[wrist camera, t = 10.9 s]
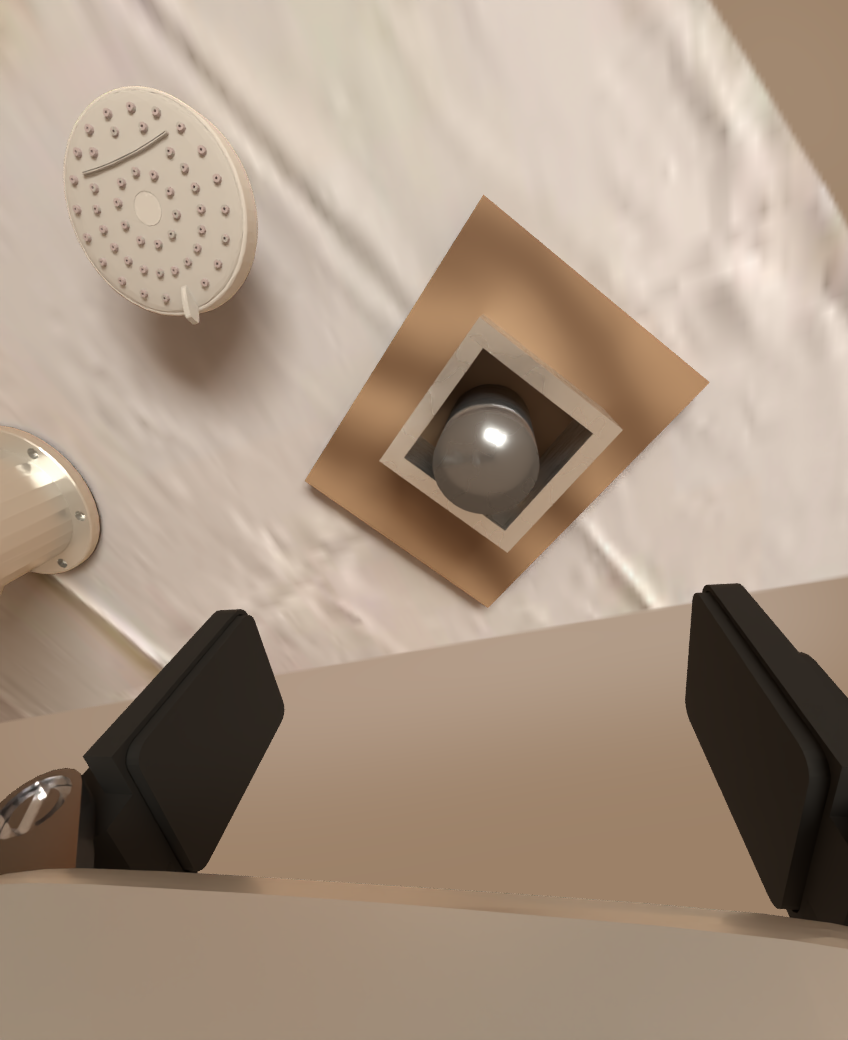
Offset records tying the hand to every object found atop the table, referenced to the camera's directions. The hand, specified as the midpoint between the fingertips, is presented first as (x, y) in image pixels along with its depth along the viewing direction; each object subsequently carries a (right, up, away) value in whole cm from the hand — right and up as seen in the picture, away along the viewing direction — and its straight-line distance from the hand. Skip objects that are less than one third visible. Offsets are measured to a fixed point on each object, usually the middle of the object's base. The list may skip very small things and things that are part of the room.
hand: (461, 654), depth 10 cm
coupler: (+3, +9, +20) cm, 22 cm away
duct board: (+3, +9, +21) cm, 23 cm away
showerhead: (-13, +20, +19) cm, 31 cm away
